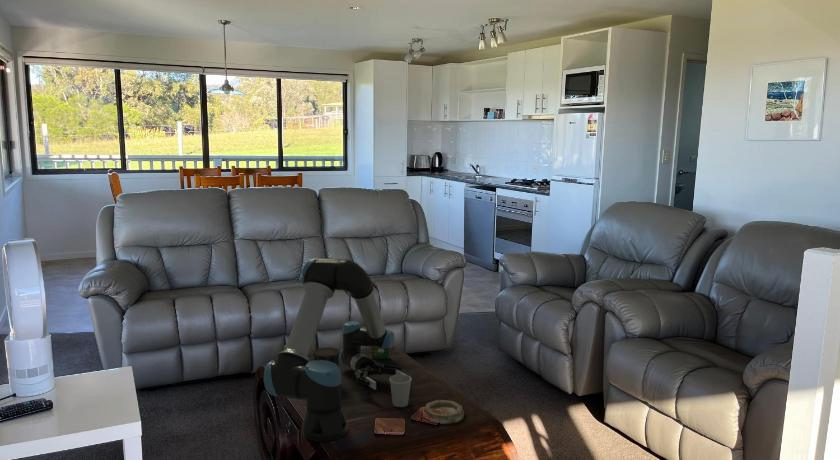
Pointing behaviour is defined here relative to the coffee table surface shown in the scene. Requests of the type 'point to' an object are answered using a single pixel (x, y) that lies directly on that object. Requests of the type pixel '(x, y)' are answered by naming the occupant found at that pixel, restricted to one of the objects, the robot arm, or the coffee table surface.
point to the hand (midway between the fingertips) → (390, 382)
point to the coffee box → (380, 353)
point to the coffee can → (327, 355)
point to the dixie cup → (400, 389)
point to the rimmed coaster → (451, 409)
